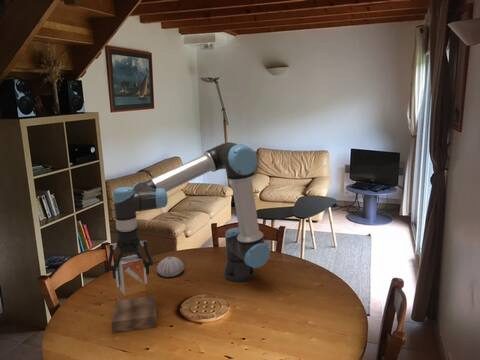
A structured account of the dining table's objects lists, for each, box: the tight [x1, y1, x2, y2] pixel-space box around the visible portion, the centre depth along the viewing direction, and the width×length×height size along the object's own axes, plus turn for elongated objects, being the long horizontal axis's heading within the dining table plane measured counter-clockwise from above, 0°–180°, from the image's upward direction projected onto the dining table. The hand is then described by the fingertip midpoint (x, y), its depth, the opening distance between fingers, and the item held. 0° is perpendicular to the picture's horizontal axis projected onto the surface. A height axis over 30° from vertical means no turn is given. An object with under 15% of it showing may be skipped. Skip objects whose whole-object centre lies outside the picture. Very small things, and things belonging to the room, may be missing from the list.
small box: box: [117, 254, 146, 297], centre depth 155 cm, size 8×6×13 cm
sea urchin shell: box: [156, 256, 185, 278], centre depth 198 cm, size 13×14×8 cm
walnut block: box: [111, 295, 158, 334], centre depth 158 cm, size 16×16×5 cm
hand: (132, 284), depth 155 cm, fingers closed on small box, 10 cm apart
